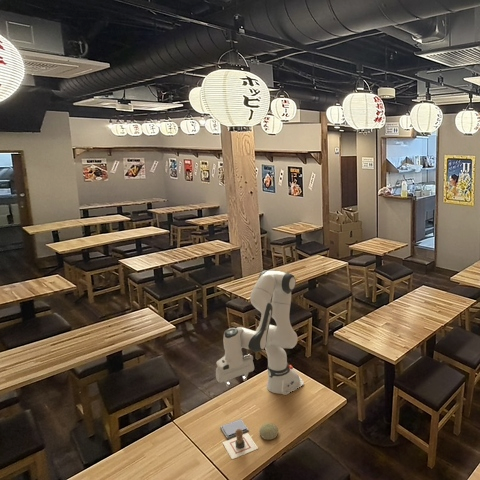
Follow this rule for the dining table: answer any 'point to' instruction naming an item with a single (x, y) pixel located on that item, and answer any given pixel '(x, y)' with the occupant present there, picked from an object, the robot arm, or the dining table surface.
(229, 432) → the ink pad
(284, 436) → the dining table surface
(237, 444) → the stamp
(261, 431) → the sea urchin shell
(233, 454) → the sheet
